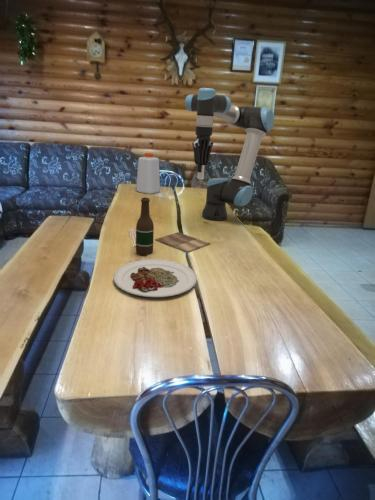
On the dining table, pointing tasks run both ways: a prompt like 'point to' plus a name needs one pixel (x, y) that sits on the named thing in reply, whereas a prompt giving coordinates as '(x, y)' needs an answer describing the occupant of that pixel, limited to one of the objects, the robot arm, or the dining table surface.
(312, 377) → the dining table surface
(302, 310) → the dining table surface
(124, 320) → the dining table surface
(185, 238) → the floor panel
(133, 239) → the newspaper
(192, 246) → the plank
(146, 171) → the white thread spool
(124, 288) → the plated food
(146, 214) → the beer bottle
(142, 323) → the dining table surface
